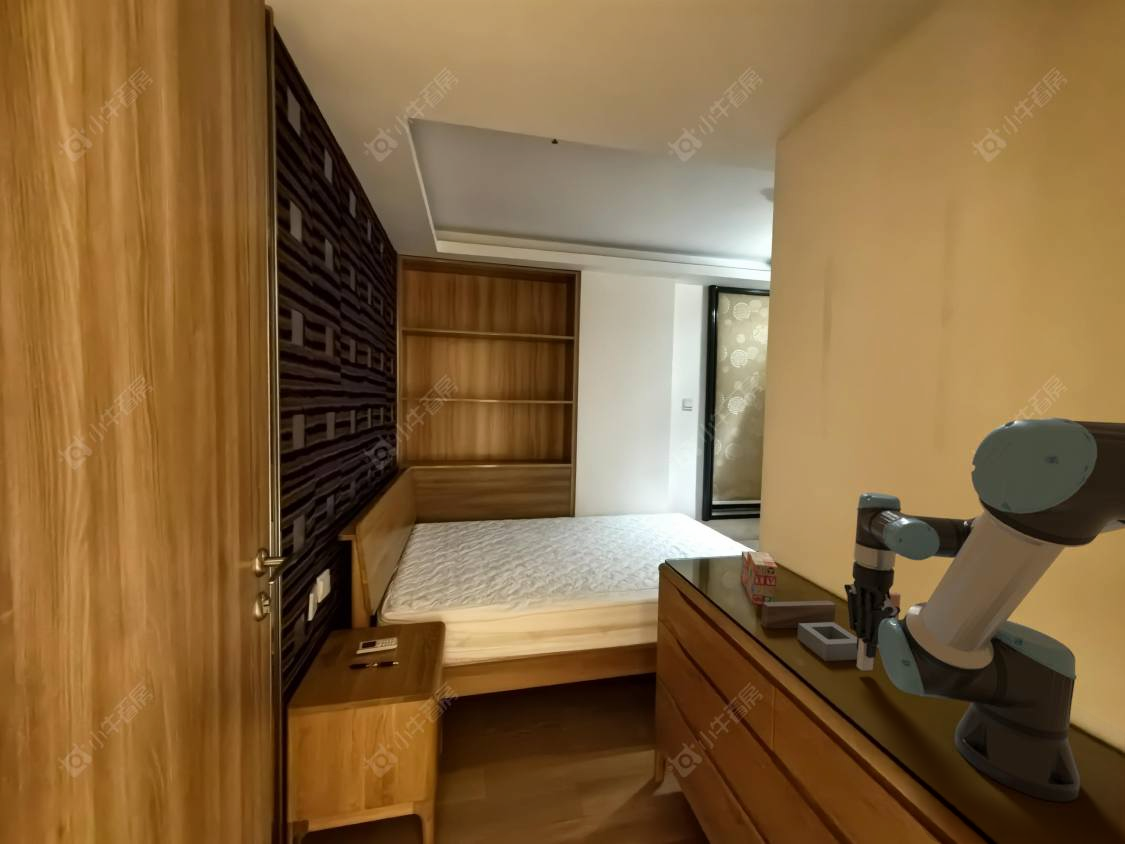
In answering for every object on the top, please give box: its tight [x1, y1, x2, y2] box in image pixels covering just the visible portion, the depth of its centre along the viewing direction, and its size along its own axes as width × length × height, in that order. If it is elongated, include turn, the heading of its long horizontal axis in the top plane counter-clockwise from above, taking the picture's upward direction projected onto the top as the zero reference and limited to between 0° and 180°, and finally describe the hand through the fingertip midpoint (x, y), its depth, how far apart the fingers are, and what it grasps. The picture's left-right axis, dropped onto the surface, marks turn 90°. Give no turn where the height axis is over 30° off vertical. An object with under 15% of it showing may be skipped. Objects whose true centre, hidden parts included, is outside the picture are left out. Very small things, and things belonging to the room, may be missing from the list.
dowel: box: [877, 589, 901, 649], centre depth 116 cm, size 4×4×14 cm
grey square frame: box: [796, 621, 858, 662], centre depth 115 cm, size 10×10×4 cm
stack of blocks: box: [740, 550, 779, 606], centre depth 148 cm, size 21×6×12 cm, turn 168°
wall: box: [760, 600, 837, 629], centre depth 126 cm, size 2×20×6 cm, turn 99°
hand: (864, 668), depth 104 cm, fingers closed
